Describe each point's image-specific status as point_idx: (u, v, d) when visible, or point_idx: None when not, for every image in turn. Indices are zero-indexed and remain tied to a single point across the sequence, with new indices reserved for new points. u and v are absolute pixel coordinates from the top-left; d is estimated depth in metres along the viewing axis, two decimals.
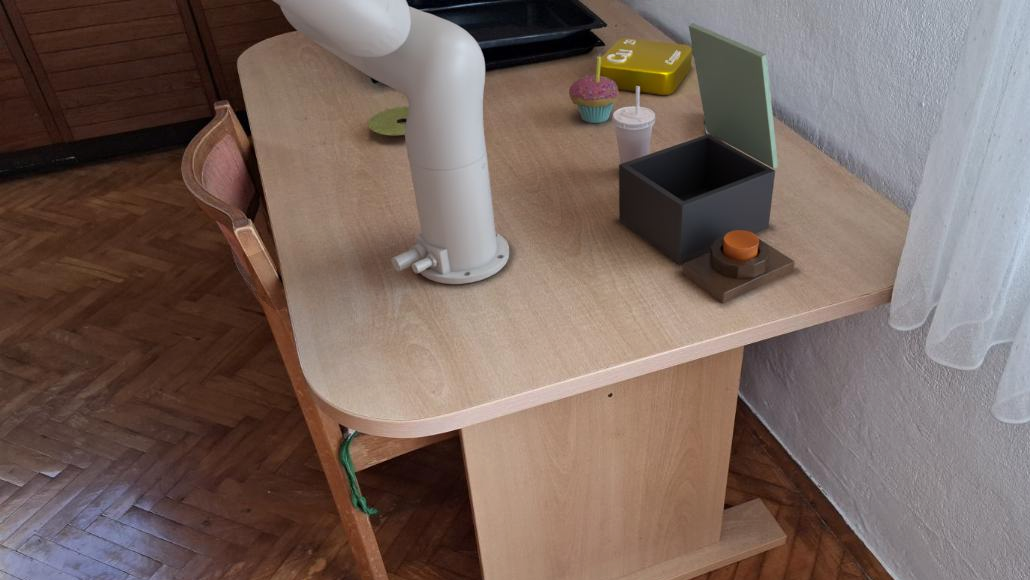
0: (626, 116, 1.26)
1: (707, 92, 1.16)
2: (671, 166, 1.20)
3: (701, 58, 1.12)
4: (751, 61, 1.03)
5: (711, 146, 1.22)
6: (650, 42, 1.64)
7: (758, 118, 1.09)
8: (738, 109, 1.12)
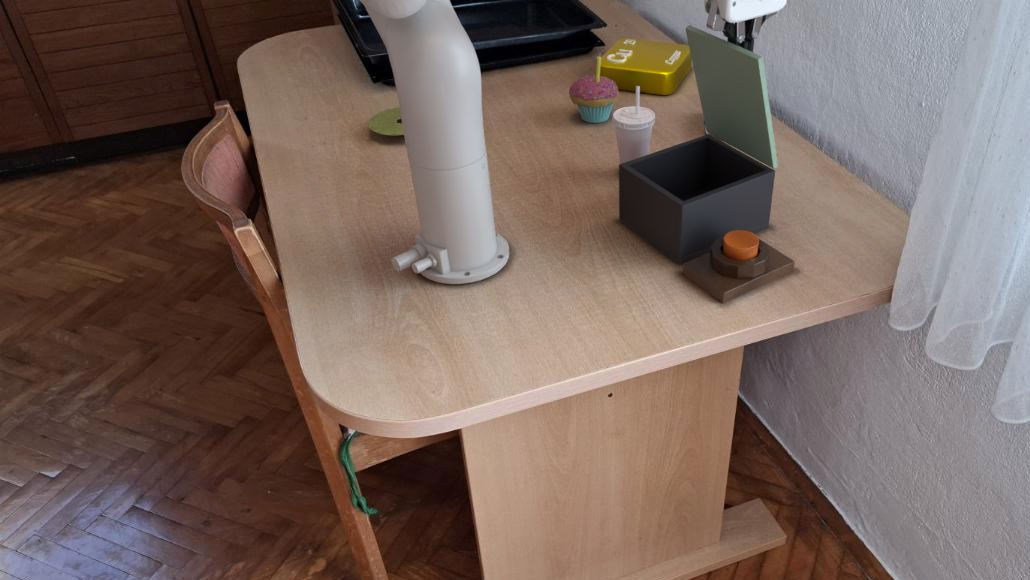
0: (626, 116, 1.26)
1: (706, 93, 1.16)
2: (671, 166, 1.20)
3: (699, 60, 1.12)
4: (748, 63, 1.03)
5: (711, 146, 1.22)
6: (650, 42, 1.64)
7: (757, 119, 1.09)
8: (737, 110, 1.12)
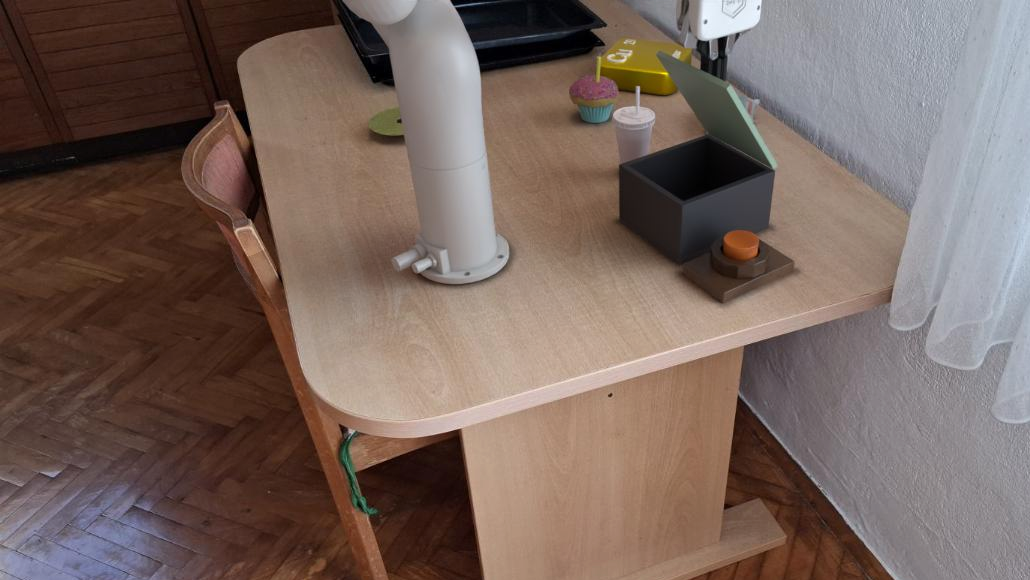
0: (626, 116, 1.26)
1: (694, 105, 1.16)
2: (671, 166, 1.20)
3: (677, 80, 1.12)
4: (719, 90, 1.03)
5: (711, 146, 1.22)
6: (650, 42, 1.64)
7: (744, 132, 1.09)
8: (725, 122, 1.12)
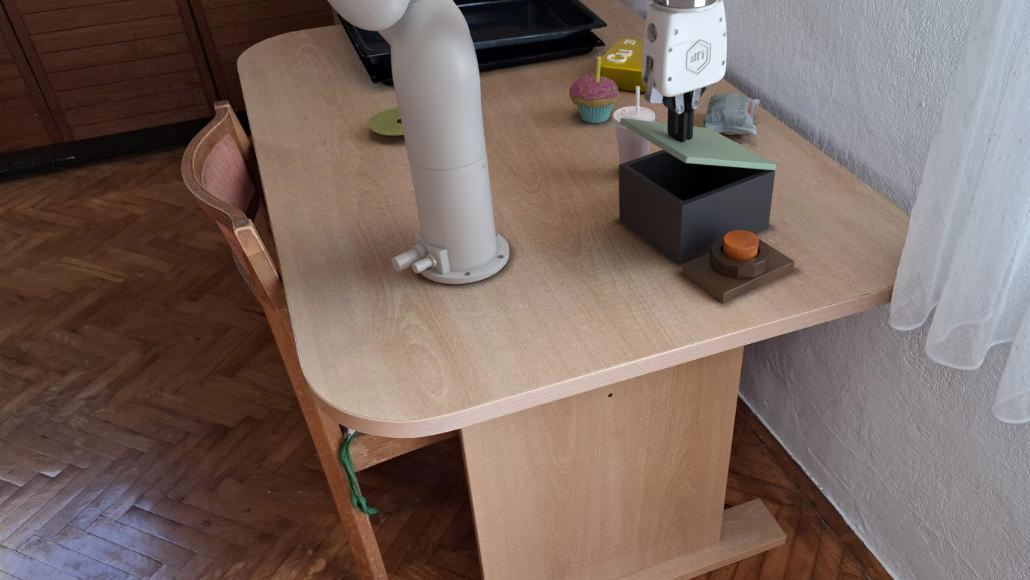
0: (626, 116, 1.26)
1: None
2: (671, 166, 1.20)
3: None
4: None
5: None
6: None
7: None
8: None
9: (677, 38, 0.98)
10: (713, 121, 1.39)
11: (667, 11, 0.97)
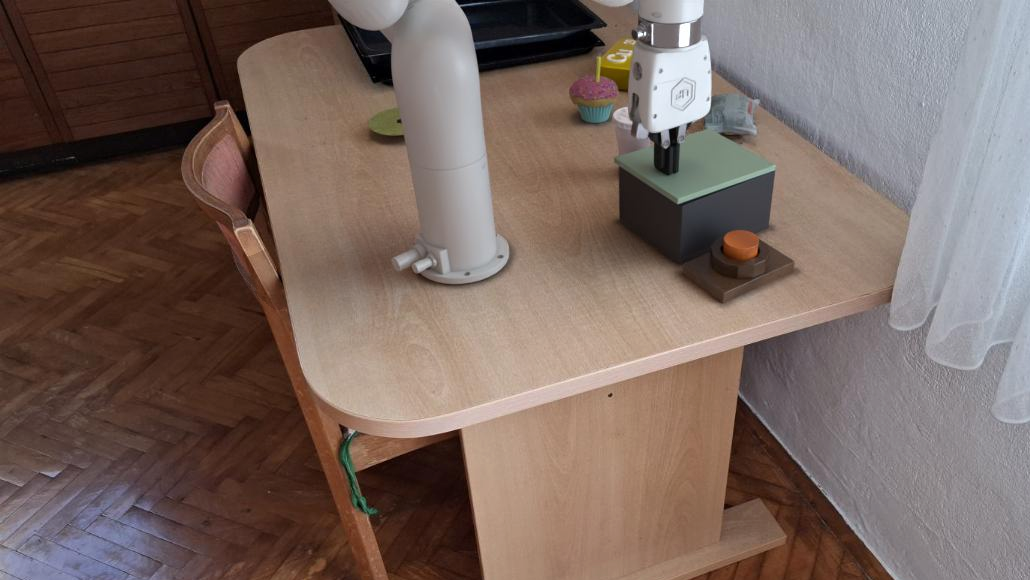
0: (626, 116, 1.26)
1: None
2: None
3: None
4: None
5: None
6: None
7: None
8: None
9: (662, 77, 1.00)
10: (713, 121, 1.39)
11: (652, 51, 0.99)
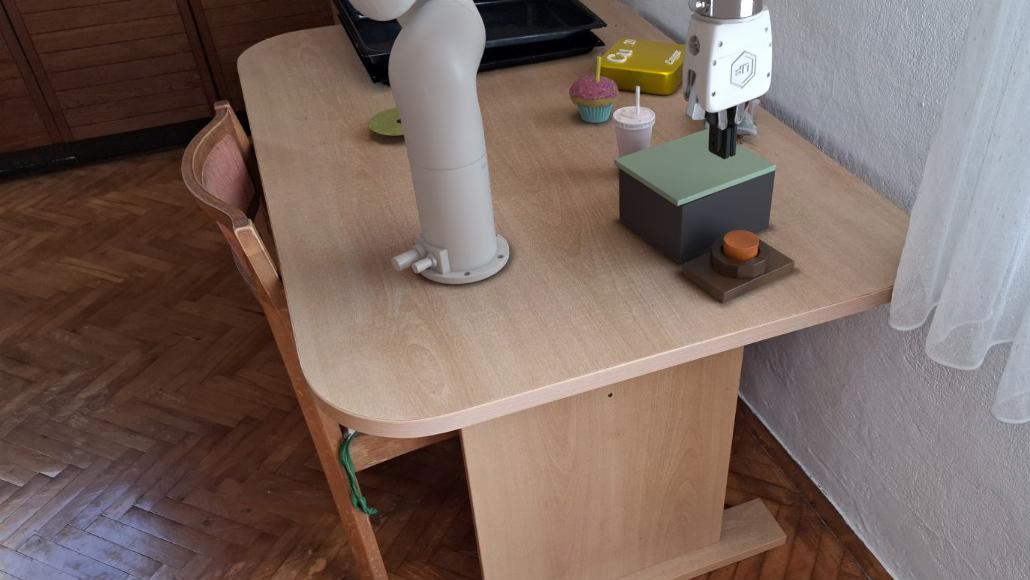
0: (626, 116, 1.26)
1: None
2: None
3: None
4: None
5: None
6: (650, 42, 1.64)
7: None
8: None
9: (722, 50, 0.92)
10: None
11: (711, 22, 0.91)
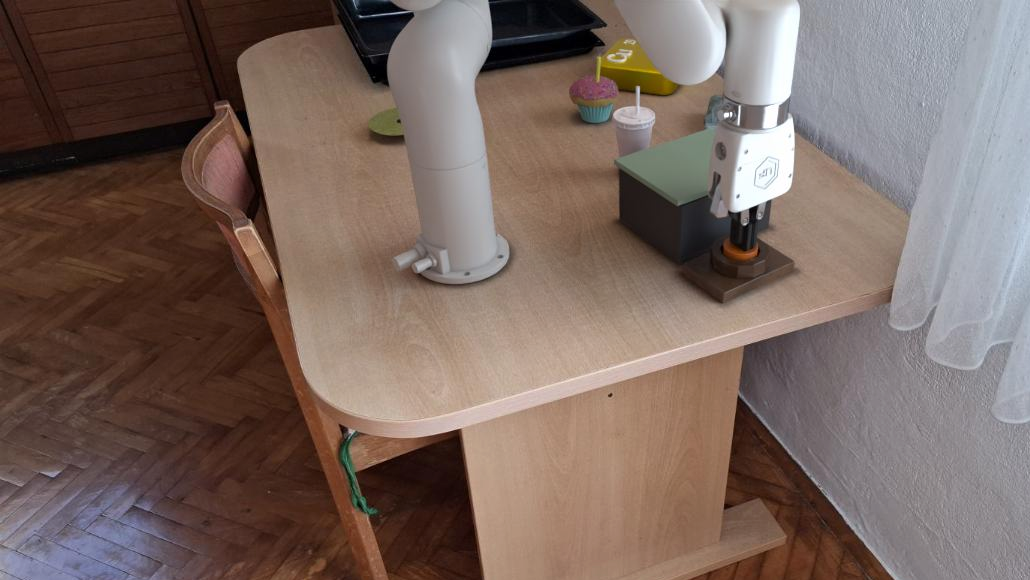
0: (626, 116, 1.26)
1: None
2: None
3: None
4: None
5: None
6: None
7: None
8: None
9: (747, 157, 0.96)
10: (713, 121, 1.39)
11: (737, 131, 0.95)
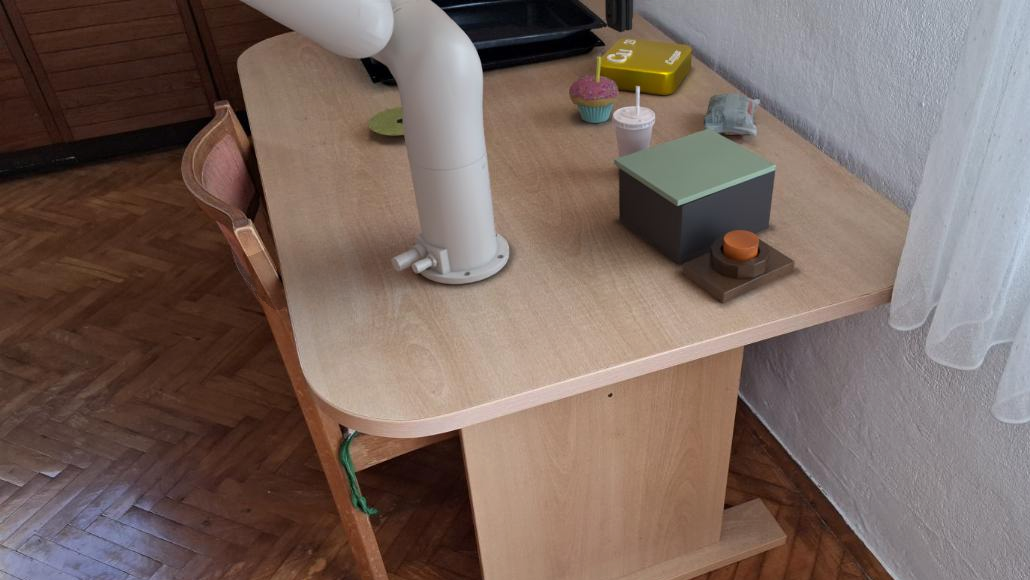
0: (626, 116, 1.26)
1: None
2: None
3: None
4: None
5: None
6: (650, 42, 1.64)
7: None
8: None
9: None
10: (713, 121, 1.39)
11: None
